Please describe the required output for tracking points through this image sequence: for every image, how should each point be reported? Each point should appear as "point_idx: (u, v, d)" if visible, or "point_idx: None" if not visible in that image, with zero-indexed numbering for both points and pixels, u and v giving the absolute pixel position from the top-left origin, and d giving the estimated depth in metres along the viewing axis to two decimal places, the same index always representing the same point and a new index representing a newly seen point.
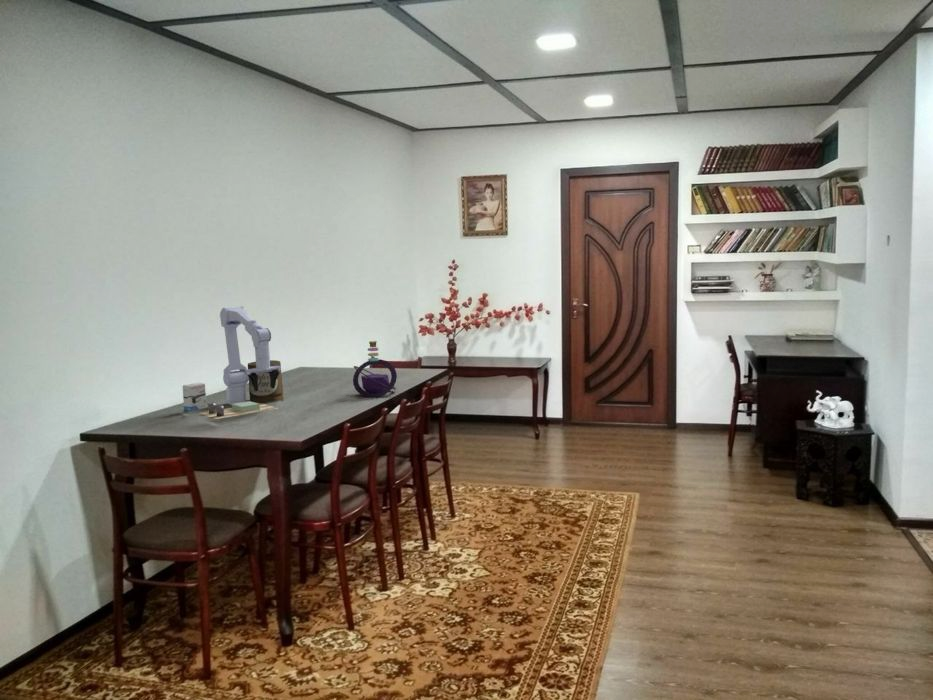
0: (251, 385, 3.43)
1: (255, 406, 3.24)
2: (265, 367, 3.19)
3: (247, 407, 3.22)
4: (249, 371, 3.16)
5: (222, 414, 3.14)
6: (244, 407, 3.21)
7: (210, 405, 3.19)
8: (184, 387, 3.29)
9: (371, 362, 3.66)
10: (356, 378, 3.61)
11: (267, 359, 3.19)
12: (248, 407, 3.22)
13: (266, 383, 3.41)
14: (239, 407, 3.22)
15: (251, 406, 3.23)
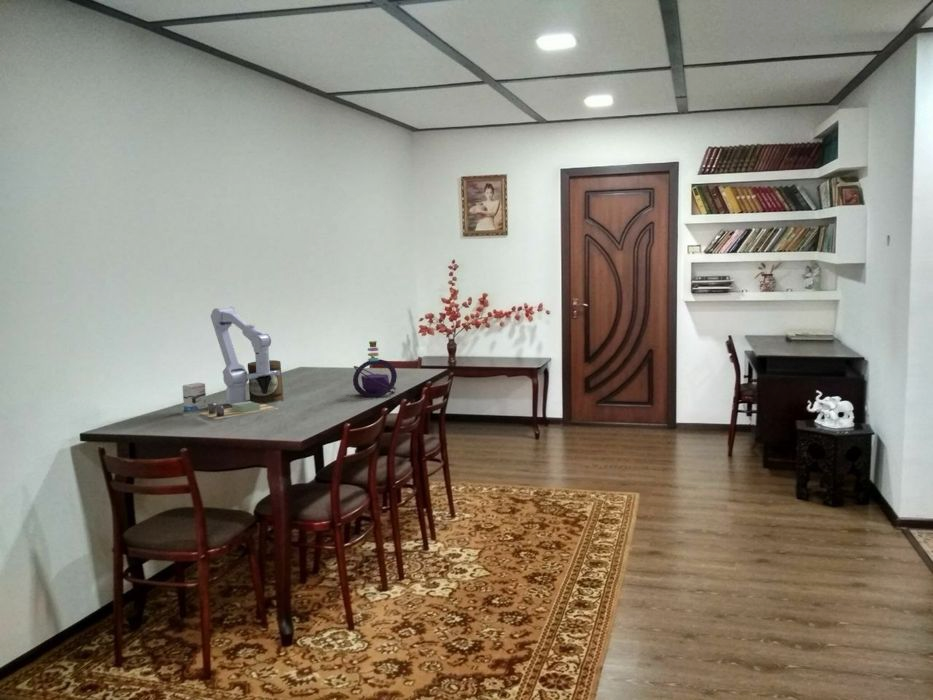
0: (251, 385, 3.43)
1: (255, 406, 3.24)
2: (265, 372, 3.28)
3: (247, 407, 3.22)
4: (250, 376, 3.26)
5: (222, 414, 3.14)
6: (244, 407, 3.21)
7: (210, 405, 3.19)
8: (184, 387, 3.28)
9: (371, 362, 3.66)
10: (356, 378, 3.61)
11: (267, 364, 3.29)
12: (248, 407, 3.22)
13: None
14: (239, 407, 3.22)
15: (251, 406, 3.23)
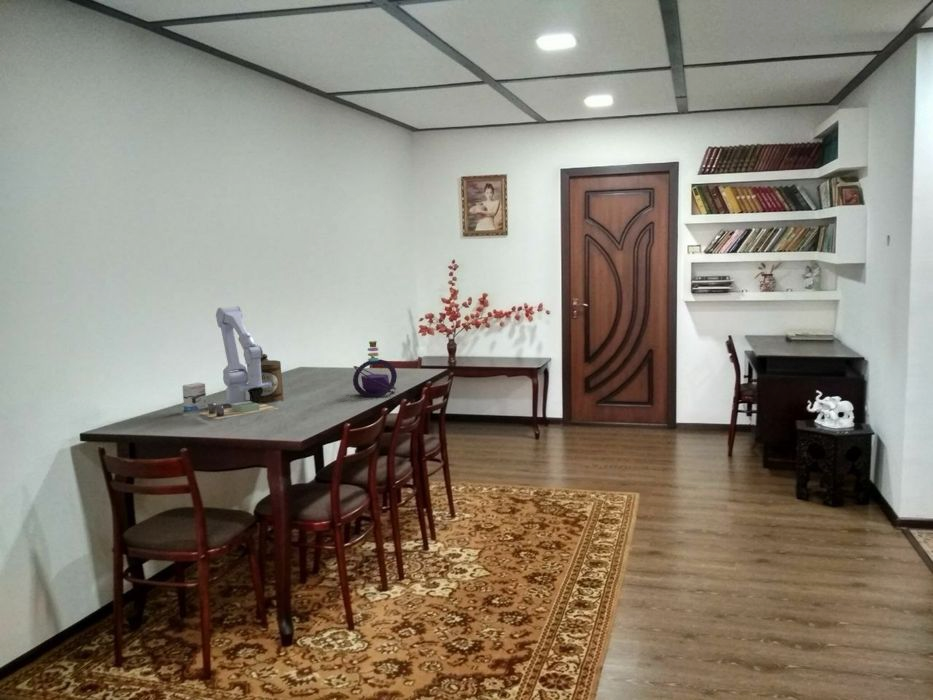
0: None
1: (255, 406, 3.24)
2: (257, 384, 3.26)
3: (247, 407, 3.22)
4: (241, 388, 3.24)
5: (222, 414, 3.14)
6: (244, 407, 3.21)
7: (210, 405, 3.19)
8: (184, 387, 3.29)
9: (371, 362, 3.66)
10: (356, 378, 3.61)
11: (259, 376, 3.27)
12: (248, 407, 3.22)
13: None
14: (239, 407, 3.22)
15: (251, 406, 3.23)
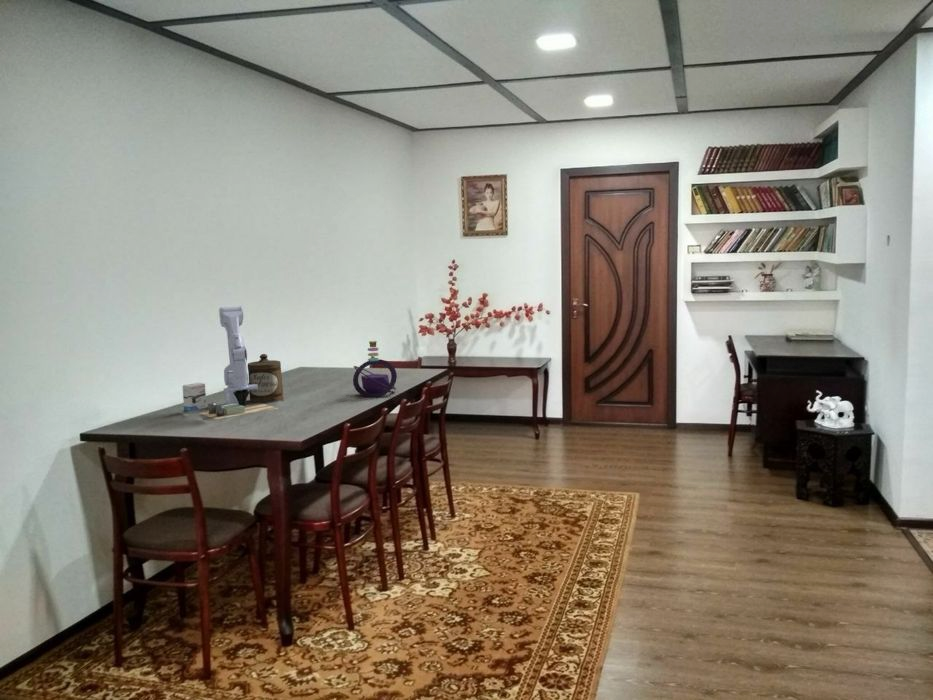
0: None
1: (240, 408, 3.20)
2: (242, 386, 3.22)
3: (232, 409, 3.17)
4: (226, 390, 3.19)
5: (222, 414, 3.14)
6: (229, 409, 3.17)
7: (210, 405, 3.19)
8: (184, 387, 3.29)
9: (371, 362, 3.66)
10: (356, 378, 3.61)
11: (244, 378, 3.23)
12: (233, 409, 3.18)
13: (266, 383, 3.41)
14: (224, 409, 3.18)
15: (236, 408, 3.19)
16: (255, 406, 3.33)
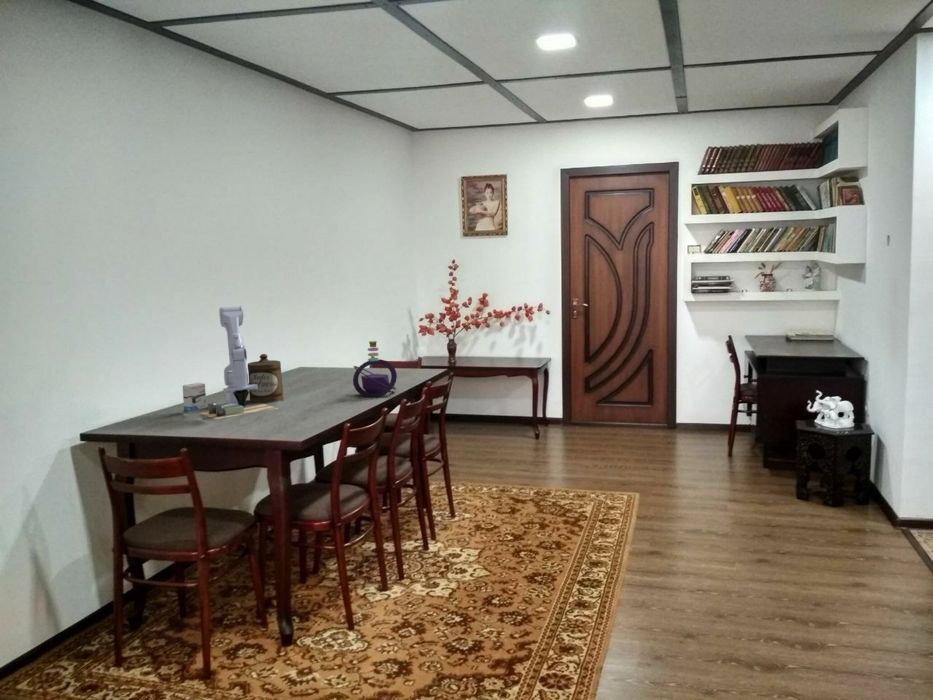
0: None
1: (239, 409, 3.20)
2: (242, 386, 3.22)
3: (231, 410, 3.17)
4: (226, 390, 3.19)
5: (222, 414, 3.14)
6: (228, 410, 3.16)
7: (210, 405, 3.19)
8: (184, 387, 3.29)
9: (371, 362, 3.66)
10: (356, 378, 3.61)
11: (244, 378, 3.22)
12: (232, 410, 3.17)
13: (266, 383, 3.41)
14: None
15: (235, 409, 3.18)
16: (255, 406, 3.33)
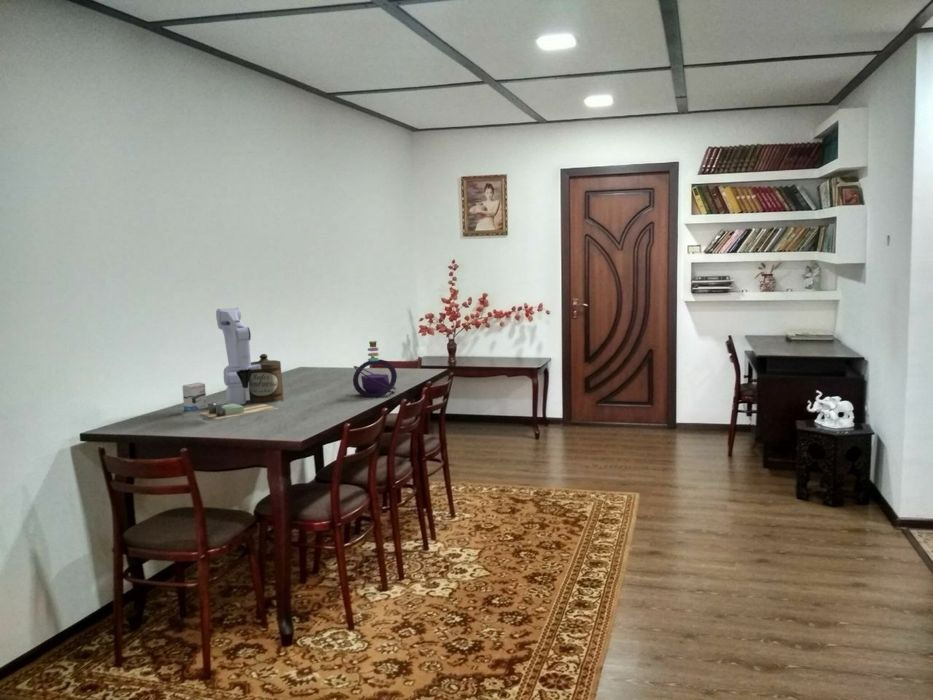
0: (251, 385, 3.43)
1: (239, 409, 3.20)
2: (246, 366, 3.22)
3: (231, 410, 3.17)
4: (230, 370, 3.20)
5: (222, 414, 3.14)
6: (228, 410, 3.16)
7: (210, 405, 3.19)
8: (184, 387, 3.29)
9: (371, 362, 3.66)
10: (356, 378, 3.61)
11: (248, 358, 3.23)
12: (232, 410, 3.17)
13: (266, 383, 3.41)
14: None
15: (235, 409, 3.18)
16: (255, 406, 3.33)
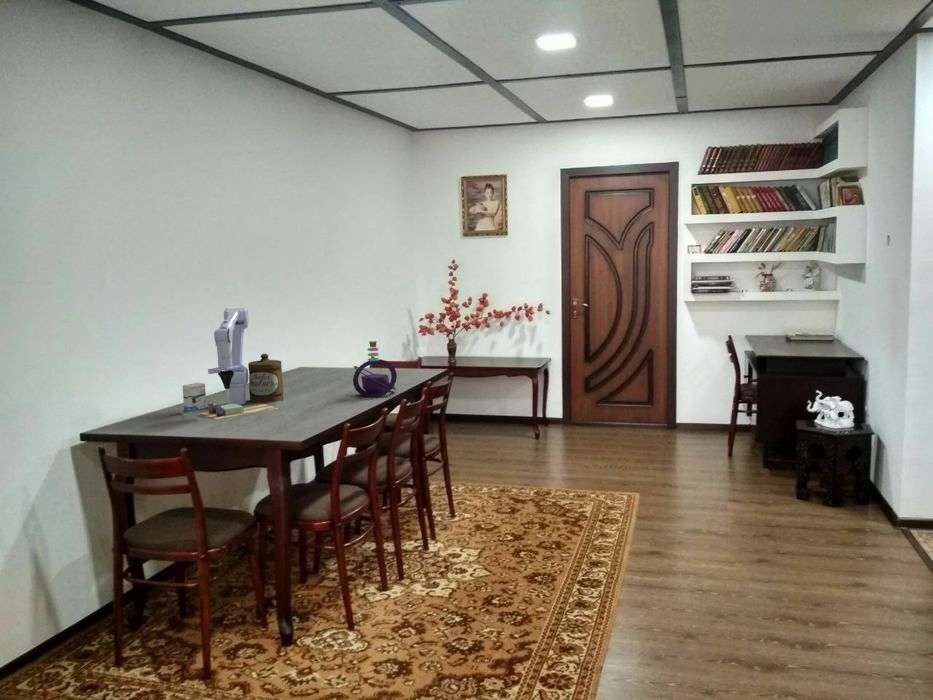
0: (251, 384, 3.43)
1: (239, 409, 3.20)
2: (227, 366, 3.21)
3: (231, 410, 3.17)
4: (211, 370, 3.19)
5: (222, 414, 3.14)
6: (228, 410, 3.16)
7: (210, 405, 3.19)
8: (184, 387, 3.29)
9: (371, 362, 3.66)
10: (356, 378, 3.61)
11: (229, 359, 3.22)
12: (232, 410, 3.17)
13: (266, 383, 3.41)
14: None
15: (235, 409, 3.18)
16: (255, 406, 3.33)
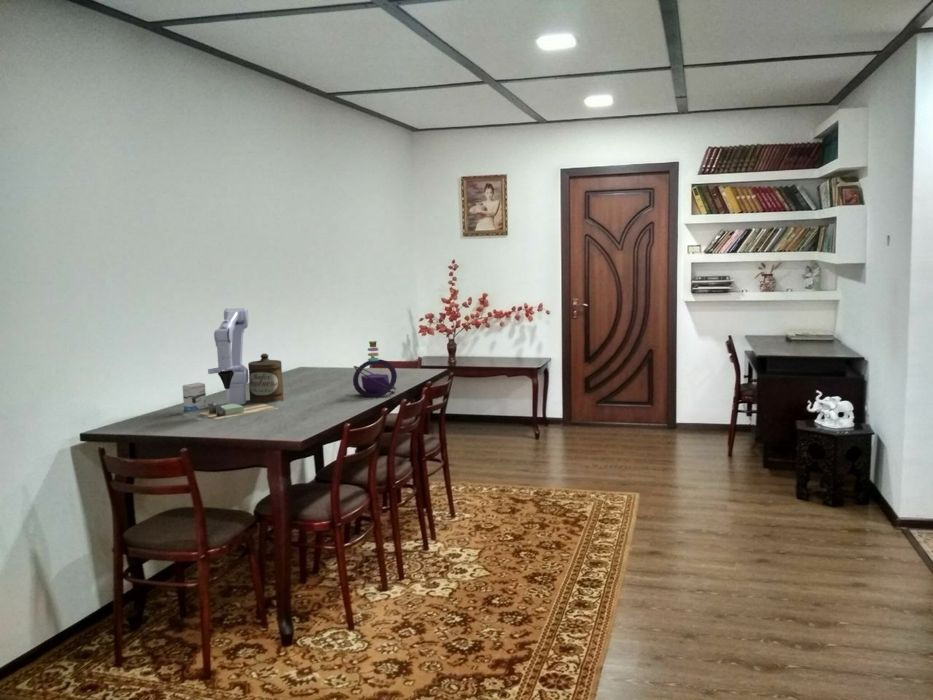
0: (251, 384, 3.43)
1: (239, 409, 3.20)
2: (227, 366, 3.21)
3: (231, 410, 3.17)
4: (211, 370, 3.19)
5: (222, 414, 3.14)
6: (228, 410, 3.16)
7: (210, 405, 3.19)
8: (184, 387, 3.29)
9: (371, 362, 3.66)
10: (356, 378, 3.61)
11: (229, 359, 3.22)
12: (232, 410, 3.17)
13: (266, 383, 3.41)
14: None
15: (235, 409, 3.18)
16: (255, 406, 3.33)
